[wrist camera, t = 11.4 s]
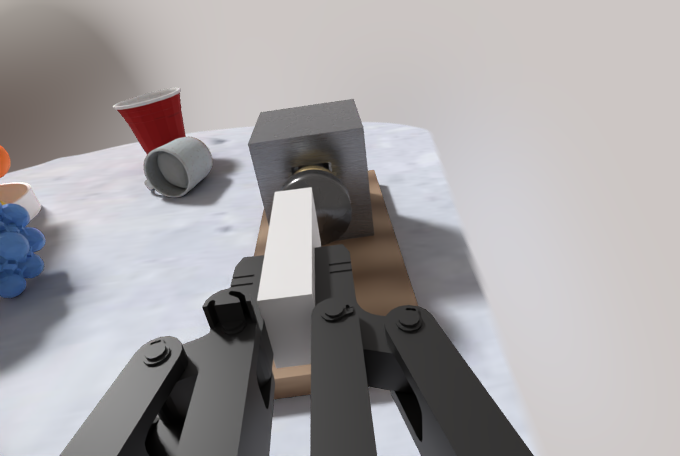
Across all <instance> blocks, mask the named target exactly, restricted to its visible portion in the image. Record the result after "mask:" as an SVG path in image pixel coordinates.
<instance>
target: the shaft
mask: <svg viewBox="0 0 680 456" xmlns="http://www.w3.org/2000/svg"><path fill="white" fill-rule="evenodd" d="M309 187H312V192H313V198H314V204H315V210H316V217H317V223H318V229H319V235H320V241H321V246H322V245H326V244H329V243H332V242H334V241H335V240H337V239H338V238H340V237H341V236H342V235H343V234H344V233H345V231H346V230H347V229H348V227H349V225H350V222H351V218H352V208H351V202H350V197H349V193H348V190H347V188H346V186H345V185H344V183H343V182H342V181H341V180H340V179H339V178H338V177H336V176H335V175H334V174H333V172H331V171H330V170H329V162H327V163H320V164H313V165H306V166H299V167H298V170H297V171H296V172H295V173H294V174H293V175H292V176H291V177H290V178H289V179H287V180H286V182H285V183H284V184H283V186H282V187H281V189H280V191H286V190H294V189H302V188H309Z"/></svg>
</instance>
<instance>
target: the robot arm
mask: <svg viewBox="0 0 680 456" xmlns="http://www.w3.org/2000/svg"><path fill="white" fill-rule="evenodd" d="M203 310H204V313H205V315H206V318H207V320H208V323H209V326H210V328H211V329H210V333H208V334H207V335H205V336H203V337H201V338H199V339H196V340H193V341H191V342H188V343H185V344H182V343H181V342H180V341H179V340H178V339H177V338H175V337H171V336H165V337H159V338H156V339H154V340H151V341H149V342H148V343H146V344H145V345H143V346H142V347H141V348H140V349H139V350H138V351H137V352H136V353H135V354H134V356H133V357H132V358H131V360H130V361H129V362H128V364H127V365H126V366H125V368H124V369H123V370H122V372H121V373H120V374H119V376H118V377H117V379H116V380H115V381H114V383H113V384H112V385H111V387H110V388H109V389H108V391H107V392H106V393H105V395H104V396H103V397H102V399H101V400H100V402H99V403H98V404H97V406H96V407H95V408H94V410H93V411H92V412H91V414H90V415H89V416H88V418H87V419H86V420H85V422H84V423H83V425H82V426H81V427H80V429H79V430H78V431H77V433H76V434H75V435H74V437H73V438H72V439H71V441H70V442H69V443H68V445H67V446H66V448H65V449H64V450H63V452H62V453H61V454H60V456H269V451H270V439H271V427H272V415H273V403H274V391H275V380H274V375H273V372H272V365H273V359H274V362H275V366H276V368H283V367H291V366H299V365H307V364H311V453H310V456H377V451H376V444H375V436H374V429H373V421H372V414H371V406H370V399H369V391H368V386H370V387H375V388H381V389H387V390H390V392H391V395H392V397H393V399H394V401H395V403H396V405H397V407H398V409H399V411H400V413H401V415H402V417H403V419H404V421H405V423H406V426H407V428H408V430H409V432H410V434H411V436H412V438H413V440H414V442H415V444H416V446H417V448H418V450H419V452H420V454H421V456H534V455H533V454H532V453H531V451H530V450H529V448H528V447H527V446H526V444H525V443H524V442H523V440H522V439H521V437H520V436H519V435H518V433H517V432H516V431H515V429H514V428H513V426H512V425H511V424H510V422H509V421H508V419H507V418H506V417H505V415H504V414H503V413H502V411H501V410H500V408H499V407H498V406H497V404H496V403H495V402H494V400H493V399H492V397H491V396H490V395H489V393H488V392H487V391H486V389H485V388H484V386H483V385H482V384H481V382H480V381H479V379H478V378H477V377H476V375H475V374H474V373H473V371H472V370H471V368H470V367H469V366H468V364H467V363H466V362H465V360H464V359H463V357H462V356H461V355H460V353H459V352H458V351H457V349H456V348H455V346H454V345H453V344H452V342H451V341H450V339H449V338H448V337H447V335H446V334H445V333H444V331H443V330H442V328H441V327H440V326H439V324H438V323H437V322H436V320H435V319H434V317H433V316H432V315H431V314H430V313H429V312H428V311H427V310H426V309H423V308H421V307H419V306H413V305H404V306H399V307H397V308H394V309H392V310H391V311H390V312H389V313H388V314H387V315H386V316H381V315H375V314H371V313H369V312H366V311H365V310H363V309H362V308H361V307H360V306H359V305H358V303H357V300H356V295H355V288H354V281H353V273H352V266H351V259H350V252H349V251H348V250H347V248H346V247H345V246H344V245H343V244H339V245H332V246H324V247H321V241H320V235H319V229H318V223H317V217H316V210H315V204H314V198H313V192H312V187H309V188H302V189H294V190H286V191H278V192H275V194H274V200H273V206H272V212H271V218H270V225H269V231H268V237H267V243H266V249H265V255H260V256H252V257H244V258H243V259H242V260H241V261H240V262H239V263H238V265H237V266H236V267H235V270H234V274H233V279H232V282H231V287H230V288H229V289H225V290H221V291H219V292H217V293H215V294H213V295H212V296H211V297H210V298H208V299H207V300H206V301H205V303H204V305H203Z"/></svg>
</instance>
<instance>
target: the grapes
mask: <svg viewBox="0 0 680 456" xmlns="http://www.w3.org/2000/svg"><path fill="white" fill-rule="evenodd" d="M29 221H30V215H29V213H28V211H27V210H26V209H25V208H24V207H22V206H20V205H18V204H12V203H8V204H5V205H2V204H1V202H0V296H1V297H3V298H13V297H16V296H18V295H20V294H21V293H22V292H23V291H24V290H25V288H26V280H25V279H24V278H33V277H36V276H38V275H39V274H40V273H41V272H42V271H43V269H44V262H43V260H42V259H41V258H40V256H38V255H36V254H34V252H36V251H39V250H41V249H42V248H43V246H44V245H45V241H46V240H45V236H44V235H43V233H42V232H41V231H40V230H38V229H36V228H33V227H26V226H27V225H28V224H29Z"/></svg>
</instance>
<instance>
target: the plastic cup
mask: <svg viewBox="0 0 680 456" xmlns="http://www.w3.org/2000/svg"><path fill="white" fill-rule="evenodd" d="M180 91H181V89H180V88H169V89H165V90H159V91H156V92H151V93H147V94H144V95H140V96H136V97H134V98H130V99H127V100H124V101H122V102H120V103H117V104H115V105H114V106H113V107H114V108H115V109H116V110H117V111H118V112H119V113H120V114H121V115H122V117H124V119H125V121H126V122H127V123H128V124H129V126H130V127H131V129H132V131H133V133H134V134H135V136H136V138H137V139H138V141H139V143H140V144H141V146H142V148H143V149H144V151H145V152H146V153H147V155H148V153H149V152H151V151H152V150H154V149H156V148H158V147H161V146H163V145H165V144H167V143H169V142H171V141H173V140H175V139H177V138H182V137H186V136H185V131H184V124H183V118H182V112H181V104H180Z"/></svg>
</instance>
